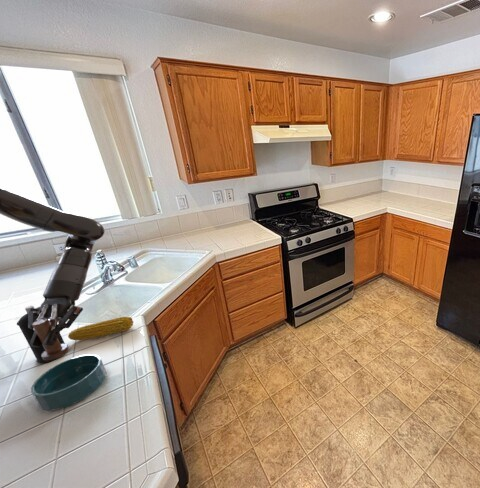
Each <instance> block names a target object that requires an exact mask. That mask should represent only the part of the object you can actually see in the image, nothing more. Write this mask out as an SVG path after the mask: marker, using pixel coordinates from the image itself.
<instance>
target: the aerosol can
mask: <svg viewBox="0 0 480 488" xmlns="http://www.w3.org/2000/svg"><path fill="white" fill-rule="evenodd" d="M30 308H35V306H34V305H29V306H26V307H25V308H24V310H25V312H26V313H25V314H24V315H22V316H21V317H20V318H19V319H18V321H17V322H16V325H17V326H18V327H19V329H20V331H21V333H22V335H23V337H24V338H25V340H26V342H27V344H28V346H29V348H30V350H31V352H32V353H33V355H34V358H35V359H36V363H38V364H46V363H47V364H48V363H51V362H53V361H56V360H57V359H58V360H59V358H61V357H63V356H64V355H62V356H60V357H58V358H56V359H53V360H48V361H45V360H43V358H42V356H41V355H42V353H43V352H44V351H46V350H45V349H44V347H43V345H42V344H41V346H30V341H31V339H32V337H33V334H34V330H33V329H30V328H28V315H29V309H30ZM48 319H49V318H48ZM58 340H59V342H60V344H66V343H65V341H64V338H63V336H62V335H61V332H60V333H59V336H58Z"/></svg>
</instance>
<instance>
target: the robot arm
mask: <svg viewBox="0 0 480 488" xmlns="http://www.w3.org/2000/svg"><path fill="white" fill-rule="evenodd" d="M0 215H2V216H4V217H6V218H8V219H11V220H13V221H15V222H18V223H21V224H24V225H26V226H29V227H32V228H35V229H38V230H41V231H44V232H48V233H64V234H67V236H66V239H65V242H64V247H63V251H62V253H61V255H60V257H59V259H58V262H57V264H56V266H55V268H54V270H53V271H52V273H51V275H50V277H49V280H48V282H47V284H46V286H45V288H44V291H43V292H42V293H43V294H42V297H43V298H44V300H43V301H42V302H41V304H40V305H39V306H38V307H34V308H30V309H29V315H28V328H30V329H33V330H34V334H33V337H32V339H31V341H30V346H41V344H42V343H41V341H40V339H39V337H38V335H37V333H36V331H35V329H34V327H33V325H32V324H33V323H34V322H35V321H37V320H40V319H44V318H49V319H48V320H49V322H50V324H51V327H50V329H51V330H49V331H48V334H47V336H46V339H45V341H44V345H46V346H53V345H54V344H55V342H56V341H57V338H58V336H59V333H60V334H61V332H62V331H63V330H65V329H69V328H70V327H72V325H73V323H74V322H75V321H76V320H77V318H78V317H79V316H80V315H81V313H82V312H83V310H84V308H83V307H82V306H78V305H76V301H78V300H79V299H80V297H81V293H82V291H83V288H84V286H85V283H86V280H87V278H88V277H87V276H88V272H89V269H90V266H91V264H92V261H93V253H92V251H93V248H94V246H95V243H96V242H98V241H99V240H100V239H102V238H103V237H104V235H105V228H104V226H103V225H102V223H100V222H98V221H96V220H95V219H93V218H90V217H87V216H83V215H79V214H75V213H72V212H65V211H62V210H60V209H57V208H55V207H52V206H50V205H48V204H44V203H42V202H40V201H37V200H34V199H31V198H29V197H26V196H23V195H21V194H18V193H15V192H13V191H10V190H8V189H5V188H2V187H0ZM30 346H29V347H30Z"/></svg>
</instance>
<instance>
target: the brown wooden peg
mask: <svg viewBox="0 0 480 488" xmlns="http://www.w3.org/2000/svg"><path fill="white" fill-rule="evenodd" d="M32 325H33V327H34V329H35V331H36V333H37V335H38V337H39V339H40V341H41V343H42V345H43V347H44V349H45V350H46V351H44V352H43V353H42V355H41V356H42V358H43V360H45V361H48V360H53V359H56V358H58V357H59V358H61V357H63V356H64V355H65V354H67V352H68V351H69V349H70V348H69V346H68V344H67V343H65V344H60V342H59V340H58V338H57V341H56V342H55V344H54V345H53V346H46V345H44V341H45V339H46V336H47V334H48V331H49V330H51V329H50V327H51V324H50V322H49V320H48V318H44V319H40V320H37V321H35V322H34V323H33V324H32ZM62 355H63V356H62ZM60 356H61V357H60ZM59 358H58V359H59ZM56 360H57V359H56ZM53 361H54V360H53Z"/></svg>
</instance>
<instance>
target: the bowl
mask: <svg viewBox="0 0 480 488" xmlns="http://www.w3.org/2000/svg"><path fill="white" fill-rule="evenodd" d="M107 374H108V371H107V369H106V366H105V364H104V363H103V360H102V357H101V356H100V355H99V354H95V353H94V354H93V353H88V354H81V355H78V356H75V357H71V358H69V359H67V360H65V361H62V362H60V363H58V364H56V365H54V366H53V367H51V368H50V369H48V370H47V371H45V372H44V373H42V374H41V375H40V376H39V377H38V378H37V379H36V380H35V381H33V384H32V385H31V386H30V393H31V395H32V397H33V399H34V400H35V402H36V404H37V405H38V407H39V408H40V409H41V410H43V411H55V410H56V411H57V410H60V409H64V408H67V407H69V406H71V405H74V404H75V403H77V402H79V401H81V400H84V399H85V398H86V397H88V396H89V395H91V394H92V393H94V392H95V391H96V390H97V389H98V388H99V387H100V386H101V385H102V384H103V383H104V381H105V380H106V378H107V376H108V375H107Z"/></svg>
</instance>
